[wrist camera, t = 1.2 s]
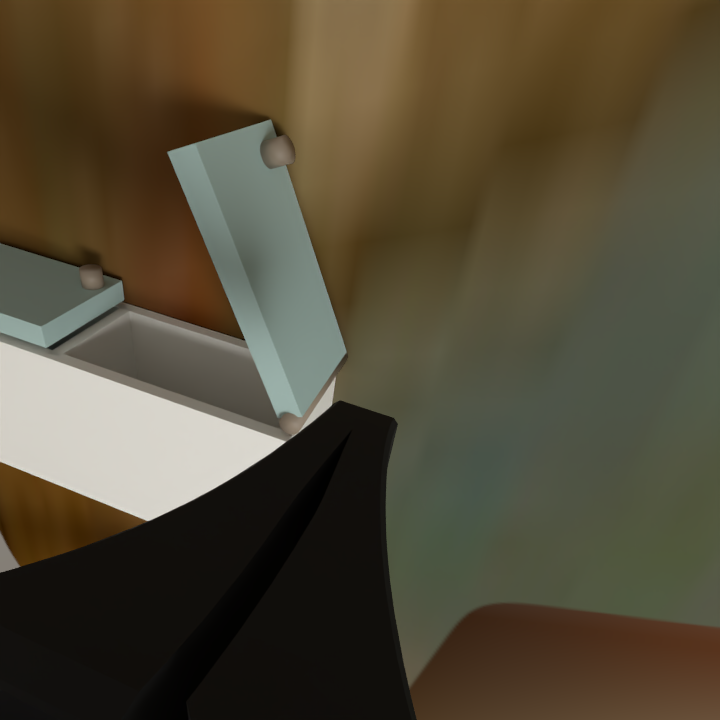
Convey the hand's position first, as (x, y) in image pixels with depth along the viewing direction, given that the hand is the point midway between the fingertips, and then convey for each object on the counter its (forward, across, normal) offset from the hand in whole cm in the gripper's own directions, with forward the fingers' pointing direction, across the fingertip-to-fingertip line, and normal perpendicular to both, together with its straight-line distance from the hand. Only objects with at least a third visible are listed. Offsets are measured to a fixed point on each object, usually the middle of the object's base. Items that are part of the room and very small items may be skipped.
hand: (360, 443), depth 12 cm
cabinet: (+10, +12, +8) cm, 18 cm away
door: (+10, +5, 0) cm, 11 cm away
